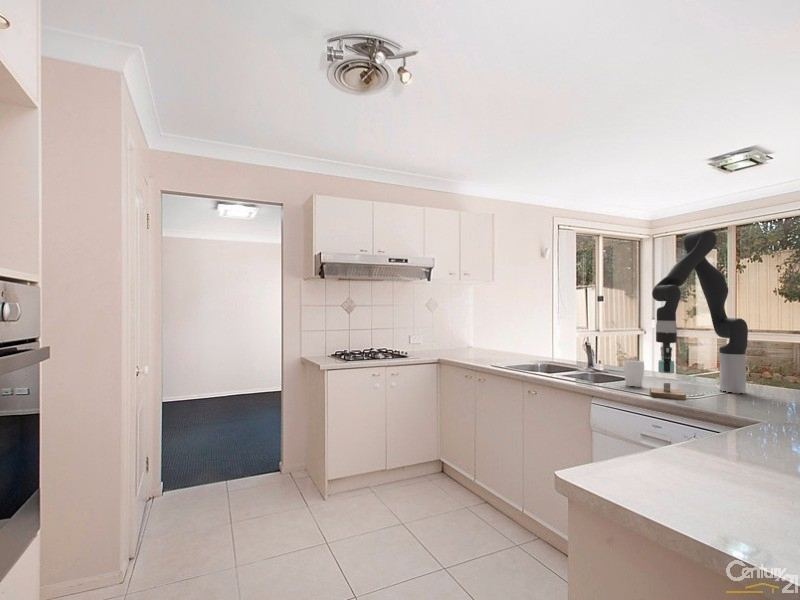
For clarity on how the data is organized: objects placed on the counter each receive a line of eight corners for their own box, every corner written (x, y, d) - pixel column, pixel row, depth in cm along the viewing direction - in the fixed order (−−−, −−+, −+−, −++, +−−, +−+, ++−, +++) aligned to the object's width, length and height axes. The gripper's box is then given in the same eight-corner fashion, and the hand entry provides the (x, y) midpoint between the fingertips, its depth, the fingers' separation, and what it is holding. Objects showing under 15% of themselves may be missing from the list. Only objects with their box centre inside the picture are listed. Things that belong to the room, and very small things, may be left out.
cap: (658, 371, 181) (658, 359, 182) (673, 372, 179) (673, 360, 179) (659, 372, 176) (659, 360, 177) (674, 373, 174) (674, 361, 174)
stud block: (649, 392, 185) (649, 379, 186) (682, 394, 180) (682, 382, 180) (651, 397, 175) (651, 383, 175) (685, 400, 169) (685, 386, 169)
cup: (648, 387, 197) (648, 362, 197) (629, 387, 197) (629, 362, 197) (637, 384, 206) (637, 360, 206) (619, 384, 206) (619, 359, 206)
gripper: (654, 330, 186) (654, 368, 186) (657, 331, 174) (657, 372, 173) (674, 331, 183) (675, 369, 182) (678, 332, 170) (678, 373, 169)
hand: (666, 370), depth 178 cm, fingers closed on cap, 5 cm apart
